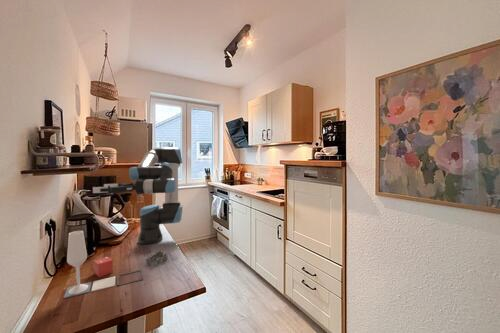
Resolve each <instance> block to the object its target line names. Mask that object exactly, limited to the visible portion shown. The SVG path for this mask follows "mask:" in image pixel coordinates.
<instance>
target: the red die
mask: <svg viewBox="0 0 500 333" xmlns="http://www.w3.org/2000/svg"><path fill="white" fill-rule="evenodd" d="M113 266H114V263H113V259H112V258H111V257H109V256H105V257H102V258H99V259H95V260H93V267H94V268H93V270H94V271H93V272H94V274H95V276H96V277H98V278H100V277H103V276H105V275H108V274H111V273H114V269H113V268H114V267H113Z"/></svg>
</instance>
